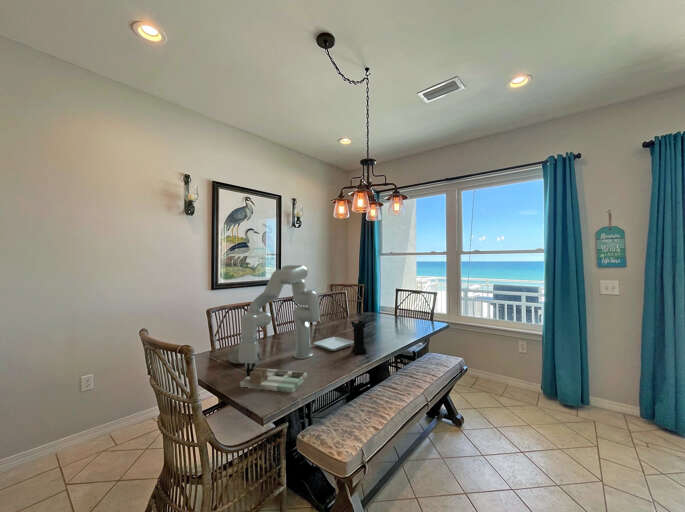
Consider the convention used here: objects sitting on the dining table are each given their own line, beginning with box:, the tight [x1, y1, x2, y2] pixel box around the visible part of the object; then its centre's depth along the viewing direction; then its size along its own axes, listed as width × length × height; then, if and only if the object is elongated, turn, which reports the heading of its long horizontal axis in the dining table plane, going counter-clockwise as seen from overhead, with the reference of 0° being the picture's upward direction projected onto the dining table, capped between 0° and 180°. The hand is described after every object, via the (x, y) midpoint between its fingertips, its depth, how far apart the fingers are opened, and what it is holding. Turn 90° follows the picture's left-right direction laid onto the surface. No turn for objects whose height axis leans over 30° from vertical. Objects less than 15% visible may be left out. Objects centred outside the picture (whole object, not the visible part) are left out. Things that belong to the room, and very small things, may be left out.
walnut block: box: [250, 367, 268, 384], centre depth 140 cm, size 6×6×5 cm
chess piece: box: [350, 320, 368, 356], centre depth 184 cm, size 8×8×20 cm
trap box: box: [239, 368, 308, 394], centre depth 144 cm, size 18×28×2 cm, turn 75°
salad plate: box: [313, 336, 354, 352], centre depth 199 cm, size 21×21×3 cm
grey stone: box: [227, 344, 241, 365], centre depth 173 cm, size 18×18×10 cm
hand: (250, 375), depth 142 cm, fingers closed
